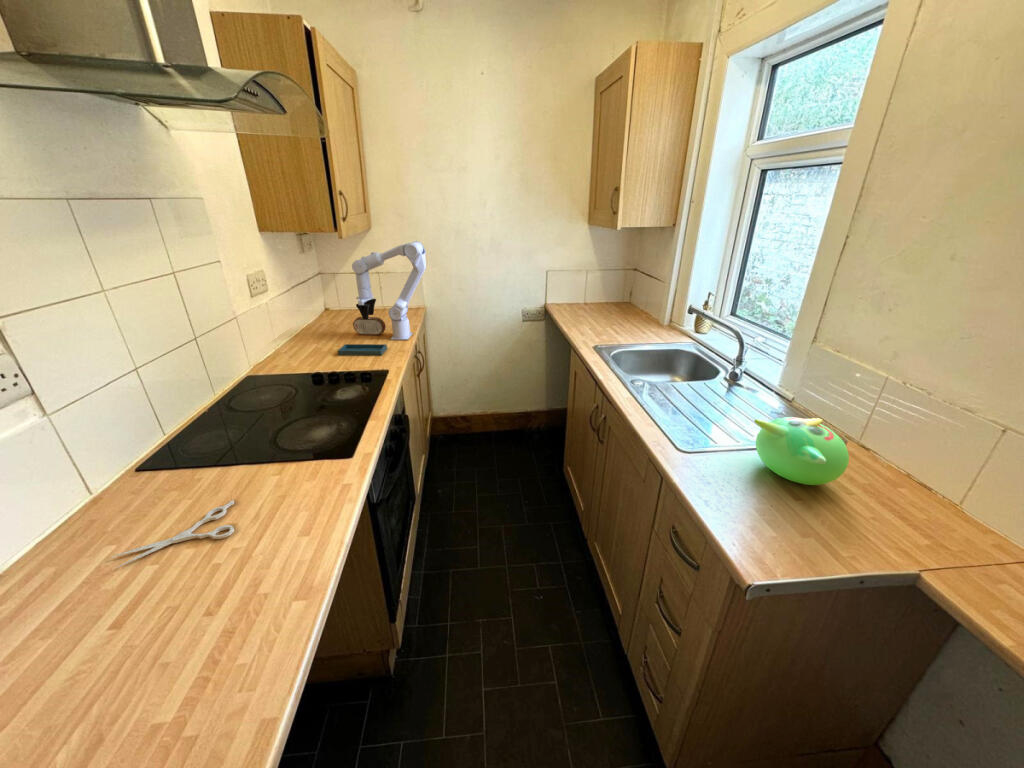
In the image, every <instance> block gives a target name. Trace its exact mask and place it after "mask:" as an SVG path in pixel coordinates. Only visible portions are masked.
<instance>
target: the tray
mask: <svg viewBox="0 0 1024 768" xmlns="http://www.w3.org/2000/svg"><path fill="white" fill-rule="evenodd" d="M387 350H388V344H378V343H377V344H376V343H374V344H373V343H369V344H367V343H364V344H363V343H345V344H343V345H342V346H341V347H340V348H339V349H337V355H338V356H364V357H365V356H366V357H367V356H373V357H374V356H375V357H378V356H379V357H380V356H381V357H382V355H383V354H384V353H385V352H386V351H387Z"/></svg>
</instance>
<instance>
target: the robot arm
mask: <svg viewBox="0 0 1024 768" xmlns="http://www.w3.org/2000/svg"><path fill="white" fill-rule="evenodd" d="M426 253H427V252H426V249H425V247H424V244H423V243H421V242H420V241H418V240H414V241H412V242H407V243H403V244H399V245H397V246H394V247H392V248H390V249H388V250H386V251H384V252H382V253H381V252H378V251H372V252H370V254H369V255H368V254H367V255H366V256H361V258H359V259H356V260H354V261H353V262H352V264H351V269H352V271H353V272H354V274H355V280H356V288H357V295H358V296H356V298H355V299H356V300H357V303H356V304H355V306H356V308H357V310H358V311H359V313H360V315H361V317H362V318H363V320H368V317H370V316H373V315H374V313H375V304H376V302H377V298H374V294H373V292H372V286H371V278H370V271H372V270H374V269H376V268H379V267H381V266H383V265H384V263H385V261H387V260H390V259H392V258H395V257H397V256H401V257H406V258H407V259H408V260H409V261H410V263H411V265H412V269H411V271H410V273H409V275H408V277H407V279H406V281H405V284H404V286H403V288H402V289H401V292H400V294H399V296H398V298H397V299H396V300H395V302H394V304H393V305H392V306H391V307H390V308H389V309H388V316H389V318H390V321H391V329H392V337H391V338H390V340H393V341H395V340H397V341H398V340H399V341H400V340H401V341H409V339H410V337H411V336H412V335H413V332H411V327H410V324H411V323H410V320H409V317H408V315H407V313H408V311H409V305H410V301H411V299H412V297H413V295H414V293H415V291H416V290H417V287H418V285H419V283H420V281H421V279H422V277H423V275H424V273H425V272H426V268H427V261H426V258H427V257H426Z"/></svg>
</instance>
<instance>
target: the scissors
mask: <svg viewBox="0 0 1024 768" xmlns="http://www.w3.org/2000/svg"><path fill="white" fill-rule="evenodd" d="M233 505H235V500H233V499H232V500H230V501H229V502H228V503H226V504H225V505H223V506H221V505H220V506H217V507H214V508H212V509H210V510H209V511H207V513H206V514H205V517H203V519H200V520H198V521H197V522H195V524H194V525H193V526H191V527H190V528H188V529H186V530H184V531H181V532H179V533H178V534H177V535H175V536H173V537H171V538H168V539H163V540H160V541H156V542H153V543H150V544H147V545H144V546H140V547H136V548H134V549H131V550H127V551H124V552H121V553H118V554H115V555H112V556H111V558H114V557H118V556H122V555H126V554H130V553H134V552H139V551H144V550H147V549H149V550H147V551H145V552H143V553H141V554H139V555H137V556H135V557H133V558H132V559H130V560H128V561H126V562H123V563H122V564H120V565H118V566H117V567H114V568H113V570H115V569H118V568H120V567H122V566H125V565H127V564H129V563H132V562H134V561H136V560H138V559H141V558H142V557H145V556H147V555H149V554H152V553H154V552H156V551H158V550H160V549H163V548H165V547H167V546H169V545H171V544H178V543H181V542H185V541H188V540H193V539H205V538H212V539H214V540H222V539H225V538H228V537H229V536H231V535H233V533H235V528H234V526H233V525H231V524H226V525H225V524H224V525H221V526H218V527H216V528H215V529H213V530H212V531H208V532H205V533H193V532H194V531H195V530H196V529H198V528H199V527H200V526H201V525H203V524H205V523H207V522H210V521H216V520H219V519H220V518H222V517H224V516H225V514H227V512H228V511H227V509H228V508H230V507H231V506H233ZM220 511H221V512H220ZM218 512H219V513H218ZM215 513H217V514H215ZM213 514H214V515H213ZM226 530H227V532H225V533H223V534H218V533H220V532H223V531H226ZM228 530H229V531H228Z"/></svg>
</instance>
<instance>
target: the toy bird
mask: <svg viewBox="0 0 1024 768" xmlns="http://www.w3.org/2000/svg"><path fill="white" fill-rule="evenodd" d="M823 421H824V419H822V418H819V417H818V418H816V417H814V418H803V417H796V416H786V417H779V418H775V419H772V420H770V421H767V420H762V419H754V421H753V422H754V423H755V424H756V425H757V426H758V427H760V430H759V431H758V433H757V434H756V438H755V449H756V452H757V455H758V457H759V458H760V460H761V461H762V462H763V463H764V465H765V466H766V467H767V468H768V469H770V470H771V471H772V472H773V473H774V474H776V475H777V476H780V477H782V478H784V479H786V480H788V481H791V482H794V483H797V484H802V485H806V486H807V485H808V486H820V485H826V484H829V483H832V482H834V481H836V480H837V479H839V478H840V477H841V476H843V474H844V473H845V472H846V470H847V468H848V465H849V463H850V462H849V461H850V455H849V454H850V453H849V450H848V447H847V445H846V443H845V441H843V440H842V438H841V437H840V436H839V435H838V434H837V433H835V431H833V430H832V429H830V428H829V427H827V426H826V425H824V424H821V423H823Z"/></svg>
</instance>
